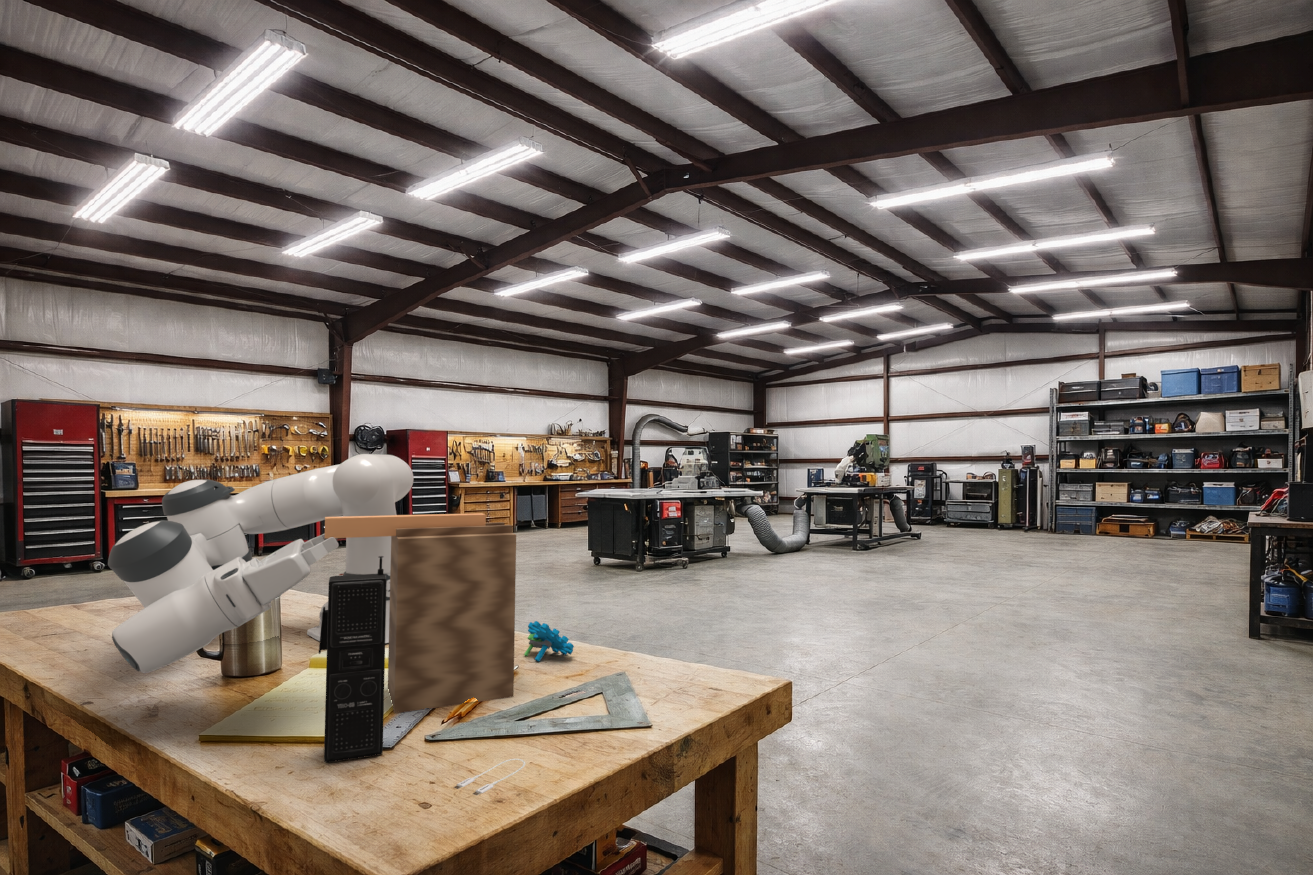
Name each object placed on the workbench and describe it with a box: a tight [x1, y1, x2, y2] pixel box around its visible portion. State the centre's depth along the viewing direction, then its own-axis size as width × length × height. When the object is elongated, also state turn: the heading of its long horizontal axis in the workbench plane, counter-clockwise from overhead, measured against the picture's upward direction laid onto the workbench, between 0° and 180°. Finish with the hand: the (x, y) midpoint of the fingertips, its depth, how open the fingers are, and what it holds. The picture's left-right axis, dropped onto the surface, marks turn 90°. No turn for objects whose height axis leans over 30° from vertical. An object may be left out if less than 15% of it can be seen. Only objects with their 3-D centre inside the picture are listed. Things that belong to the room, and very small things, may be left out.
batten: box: [324, 512, 487, 539], centre depth 110 cm, size 24×3×3 cm, turn 116°
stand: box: [387, 521, 517, 714], centre depth 113 cm, size 18×12×27 cm, turn 116°
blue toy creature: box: [523, 620, 575, 663], centre depth 132 cm, size 11×6×10 cm
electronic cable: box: [453, 758, 526, 796], centre depth 83 cm, size 4×10×1 cm, turn 150°
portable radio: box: [318, 556, 387, 764], centre depth 90 cm, size 8×6×25 cm
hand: (336, 537), depth 105 cm, fingers open, 8 cm apart
